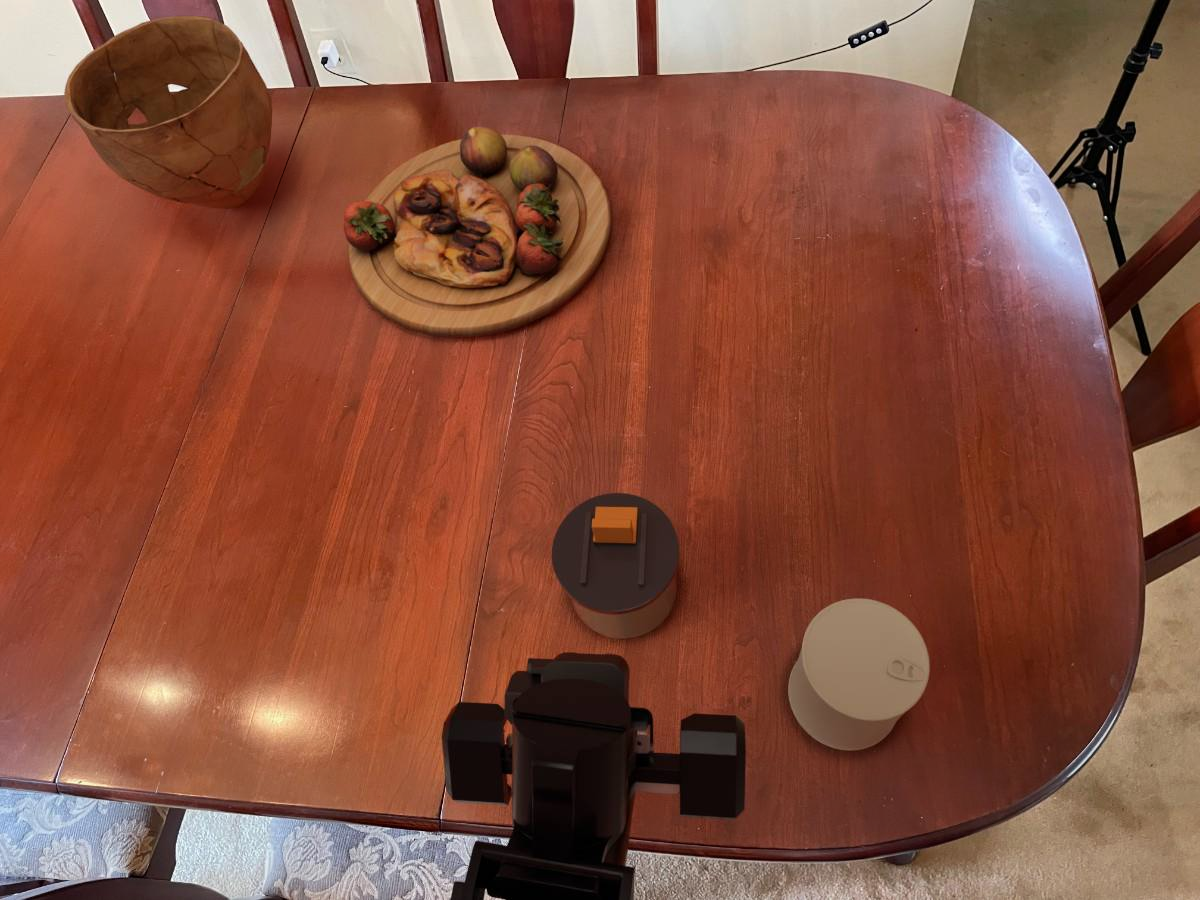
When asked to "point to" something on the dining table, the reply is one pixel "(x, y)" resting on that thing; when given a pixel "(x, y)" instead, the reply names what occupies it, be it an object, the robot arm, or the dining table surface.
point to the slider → (615, 525)
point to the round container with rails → (618, 568)
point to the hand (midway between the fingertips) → (609, 688)
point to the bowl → (176, 110)
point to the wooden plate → (478, 234)
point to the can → (857, 673)
